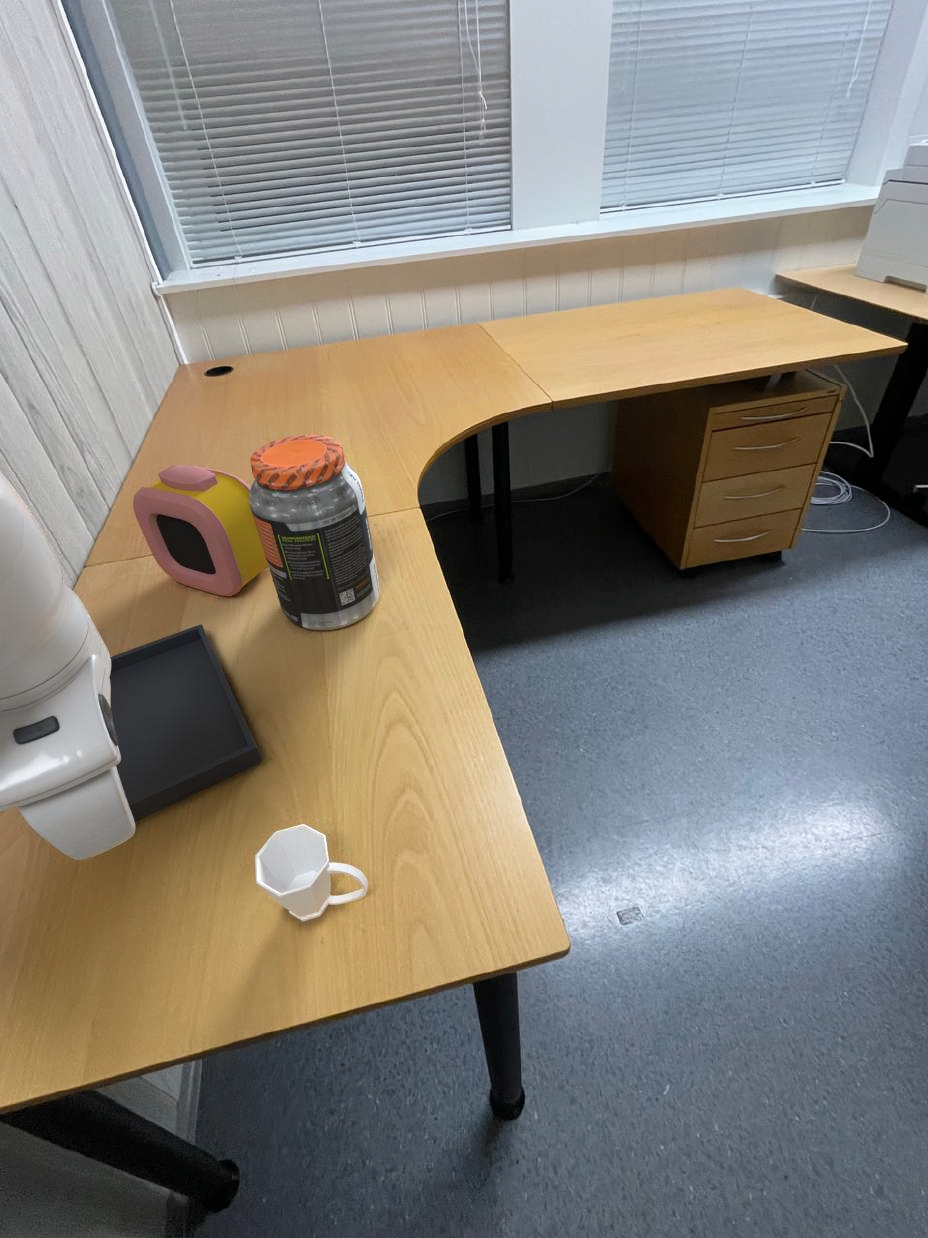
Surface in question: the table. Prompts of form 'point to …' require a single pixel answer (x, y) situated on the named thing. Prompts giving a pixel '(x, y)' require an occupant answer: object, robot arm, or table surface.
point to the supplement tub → (314, 531)
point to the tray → (175, 721)
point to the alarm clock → (201, 528)
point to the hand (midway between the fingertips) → (97, 761)
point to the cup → (302, 872)
